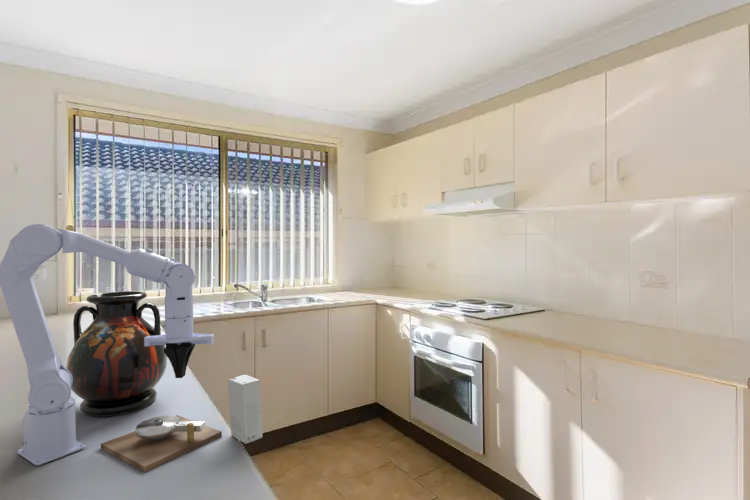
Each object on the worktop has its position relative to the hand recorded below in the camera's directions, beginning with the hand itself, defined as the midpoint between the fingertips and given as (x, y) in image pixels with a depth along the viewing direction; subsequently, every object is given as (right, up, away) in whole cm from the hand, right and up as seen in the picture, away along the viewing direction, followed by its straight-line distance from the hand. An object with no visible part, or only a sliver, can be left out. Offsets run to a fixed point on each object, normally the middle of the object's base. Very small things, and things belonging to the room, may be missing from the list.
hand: (180, 376), depth 94 cm
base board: (+1, -11, -9) cm, 14 cm away
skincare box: (+17, -11, -7) cm, 21 cm away
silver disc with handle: (+2, -8, -9) cm, 12 cm away
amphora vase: (-20, -11, +11) cm, 25 cm away
